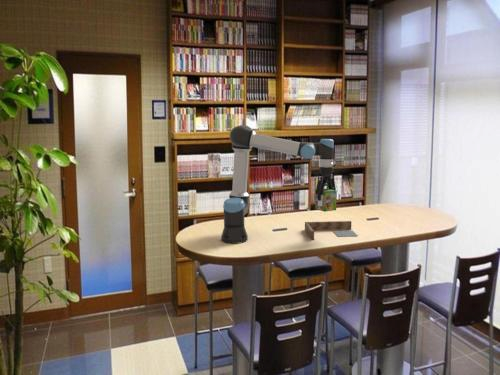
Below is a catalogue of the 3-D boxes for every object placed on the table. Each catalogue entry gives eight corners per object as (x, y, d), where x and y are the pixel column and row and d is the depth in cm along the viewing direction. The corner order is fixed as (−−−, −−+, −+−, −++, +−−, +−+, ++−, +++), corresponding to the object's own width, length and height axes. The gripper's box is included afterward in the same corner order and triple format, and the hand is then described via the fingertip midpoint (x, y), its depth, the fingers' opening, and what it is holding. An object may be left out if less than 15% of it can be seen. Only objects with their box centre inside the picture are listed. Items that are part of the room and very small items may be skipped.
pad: (337, 236, 268) (337, 236, 268) (332, 231, 280) (332, 230, 280) (357, 236, 268) (357, 235, 268) (352, 230, 280) (352, 230, 280)
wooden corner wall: (311, 239, 262) (311, 231, 261) (304, 229, 284) (304, 221, 283) (360, 238, 264) (361, 230, 263) (350, 228, 285) (350, 220, 285)
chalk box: (324, 212, 260) (324, 186, 257) (314, 209, 267) (314, 184, 265) (337, 210, 264) (337, 184, 262) (326, 207, 272) (326, 182, 269)
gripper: (320, 168, 251) (319, 208, 255) (342, 165, 268) (341, 202, 271) (309, 167, 256) (308, 206, 259) (331, 164, 273) (330, 200, 276)
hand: (325, 204), depth 265 cm, fingers closed on chalk box, 10 cm apart
